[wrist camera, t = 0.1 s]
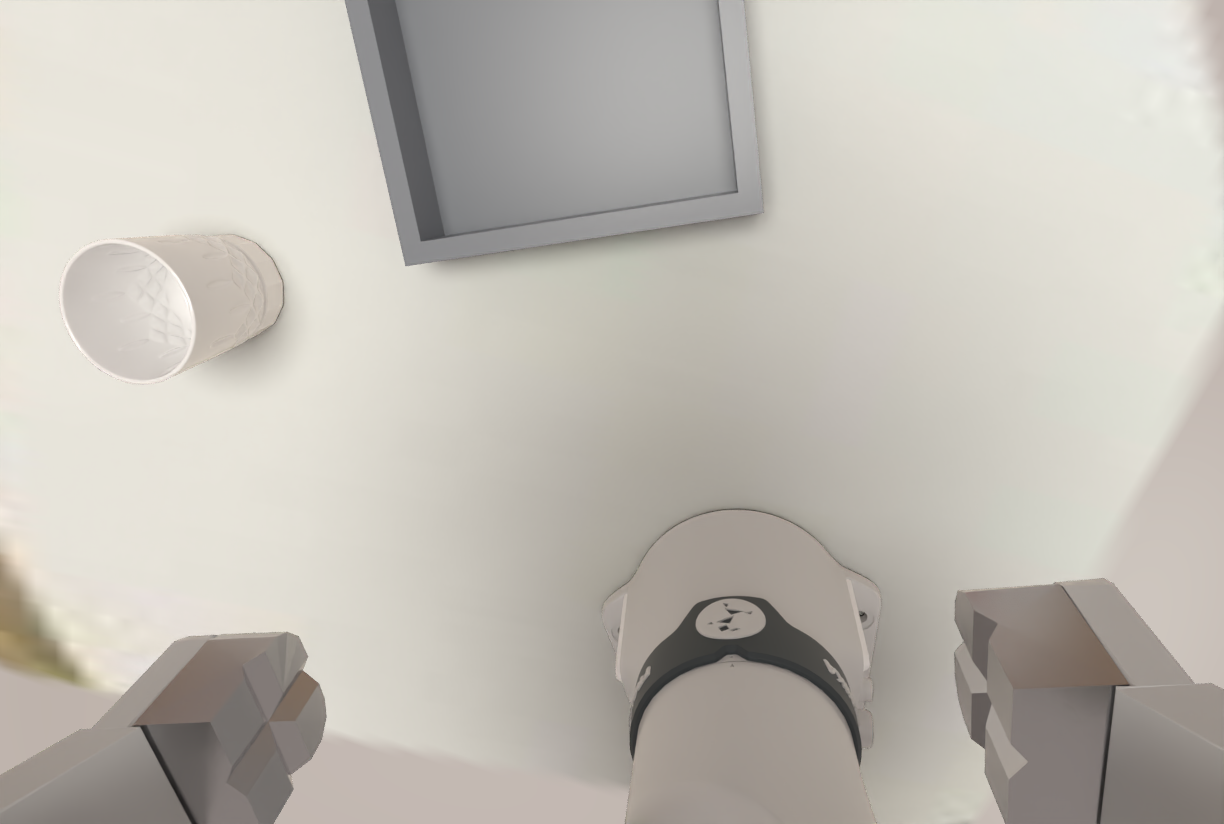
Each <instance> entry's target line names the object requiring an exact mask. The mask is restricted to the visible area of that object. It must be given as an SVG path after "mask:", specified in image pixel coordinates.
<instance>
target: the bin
mask: <svg viewBox="0 0 1224 824" xmlns="http://www.w3.org/2000/svg"><path fill="white" fill-rule="evenodd" d="M345 4H346V8H347V13H348V17H349V21H350V26H351V30H352V34H353V39H354V43H355V47H356V52H357V56H358V61H359V65H360V69H361V74H362V78H363V82H364V87H365V91H366V96H367V100H368V104H369V109H370V113H371V117H372V122H373V126H374V130H375V135H376V139H377V144H378V148H379V152H380V157H381V161H382V165H383V170H384V174H385V178H386V183H387V187H388V192H389V196H390V200H391V205H392V209H393V213H394V218H395V222H396V226H397V231H398V235H399V240H400V244H401V248H402V253H403V257H404V261H405V266H410V265H417V264H424V263H431V262H437V261H444V260H451V259H457V258H464V257H471V256H478V255H484V254H491V253H498V252H505V251H511V250H518V249H525V248H531V247H538V246H545V245H552V244H558V243H565V242H572V241H579V240H585V239H592V238H599V237H605V236H612V235H619V234H626V233H632V232H639V231H646V230H653V229H659V228H666V227H673V226H679V225H686V224H693V223H700V222H706V221H713V220H720V219H727V218H733V217H740V216H747V215H753V214H760V213H764V209H763V198H762V187H761V177H760V166H759V155H758V145H757V134H756V123H755V113H754V102H753V91H752V81H751V70H750V59H749V49H748V38H747V27H746V17H745V6H744V0H345Z"/></svg>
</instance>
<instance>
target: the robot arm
mask: <svg viewBox="0 0 1224 824" xmlns="http://www.w3.org/2000/svg"><path fill="white" fill-rule="evenodd" d="M860 611H861V612H865V614H864V615H863V616H861V617H860V616H859V612H860ZM880 611H881V596H880V591H879V589H878V587H877V586H876V585H875V584H874V583H873V582H871V581H870V580H868V579H867V578H865V577H863V576H861V575H859V574H857V573H855V572H853V571H851V570H849V569H846V568H844V567H842V566H841V565H840V564H839V563H837V562H836V561H835V560H834V559H833V558H832V556H831V555H830V554H829V553H828V552H827V551H826V550H825V548H824V547H823V546H822V545H821V544H820V543H819V542H818V541H817V540H816V539H815V538H813V537H812V536H811V535H810V534H808V533H807V532H806V531H804V530H803V529H801V528H800V527H798V526H796V525H795V524H793V523H791V522H789V521H786V520H784V519H782V518H779V517H776V516H773V515H770V514H766V513H762V512H757V511H750V510H722V511H715V512H710V513H706V514H702V515H699V516H696V517H693V518H691V519H688V520H686V521H684V522H682V523H680V524H679V525H677V526H675V527H674V528H672V529H671V530H669V531H668V532H666V533H665V534H664V535H663V536H662V537H661V538H659V539H658V540H657V541H656V542H655V544H654V545H653V546H652V547H651V548H650V550H649V551H648V552H647V554H646V555H645V557H644V558H643V560H642V562H641V564H640V566H639V568H638V569H637V571H636V573H635V575H634V576H633V578H632V579H631V580H630V581H629V582H628V583H627V584H625V585H624V586H622V587H621V588H620V589H618V590H617V591H616V592H614V593H613V594H612V595H611V596H610V597H609V598H608V599H607V600H606V601H605V602H604V604H603V607H602V621H603V624H604V627H605V629H606V632H607V634H608V637H609V639H610V641H611V644H612V646H613V649H614V651H615V654H616V656H617V657H616V666H615V674H616V679H617V680H618V681H620V682H622V684H623V687H624V690H625V693H626V695H627V697H628V699H629V701H630V703H631V709H630V717H629V727H630V730H629V732H630V750H631V755H632V759H633V768H632V775H631V782H630V789H629V797H628V804H627V812H626V819H625V824H877V822H876V819H875V817H874V814H873V810H872V807H871V804H870V801H869V798H868V795H867V792H866V789H865V785H864V782H863V778H862V774H861V771H860V762H861V750H862V748H867V749H868V748H869V747H870V748H871V747H872V743H873V720H872V715H871V712H870V711H867V710H864V703H865V702H871V701H872V698H873V684H872V680H871V679H870V678H869V674H870V669H871V663H872V657H873V651H874V646H875V640H876V634H877V628H878V622H879V617H880ZM955 622H956V624H957V627H958V629H959V631H960V634H961V636H962V638H963V640H964V642H963V643H962V644H961V645H960V646H959V647H958V648H957V650H956V651H955V652H954V657H955V679H956V686H957V693H958V700H959V704H960V707H961V711H962V714H963V718H964V721H965V724H966V726H967V729H968V731H969V734H970V737H971V739H972V740H974V741H975V742H976V743H978V744H979V745H980V746H982V747H983V748H984V749H985V775H986V777H987V780H988V782H989V785H990V787H991V790H992V792H993V794H994V797H995V799H996V802H997V804H998V807H999V809H1000V812H1001V814H1002V816H1003V819H1004V822H1005V824H1224V689H1222V688H1220V687H1218V686H1216V685H1214V684H1212V683H1205V684H1195V683H1194V682H1193V681H1192V679H1191V678H1190V677H1189V676H1188V675H1187V673H1186V672H1185V671H1184V670H1183V668H1182V667H1181V666H1180V665H1179V663H1178V662H1177V661H1176V660H1175V659H1174V657H1173V656H1172V655H1171V654H1170V652H1169V651H1168V650H1167V649H1166V648H1165V646H1164V645H1163V644H1162V643H1161V641H1160V640H1159V639H1158V638H1157V636H1156V635H1155V634H1154V633H1153V632H1152V630H1151V629H1150V628H1149V627H1148V625H1147V624H1146V623H1145V622H1144V620H1143V619H1142V618H1141V617H1140V616H1139V614H1138V613H1137V612H1136V611H1135V609H1134V608H1133V607H1132V606H1131V605H1130V603H1129V602H1128V601H1127V600H1126V598H1125V597H1124V596H1123V595H1122V594H1121V592H1120V591H1119V590H1118V588H1117V587H1116V586H1115V585H1114V584H1113V583H1112V582H1110V581H1108V580H1106V579H1104V578H1100V579H1089V580H1077V581H1066V582H1055V583H1054V584H1048V585H1033V586H1018V587H1003V588H988V589H973V590H958V591H957V596H956V600H955ZM307 658H308V655H307V653H306V651H305V649H304V647H303V644H302V642H301V640H300V638H299V636H296V635H294V634H291V633H289V632H270V633H244V634H221V635H204V636H188V637H185V638H182V639H180V640H177V641H174V642H173V643H172V645H171V646H170V647H169V648H168V649H167V650H166V651H165V652H164V653H163V654H162V655H161V656H160V657H159V658H158V659H157V660H156V661H155V662H154V663H153V664H152V665H151V667H150V668H149V669H148V670H147V671H146V672H145V673H144V674H143V675H142V676H141V677H140V678H139V679H138V680H137V681H136V682H135V683H134V684H133V685H132V686H131V687H130V689H129V690H128V691H127V692H126V693H125V694H124V695H123V696H122V697H121V698H120V699H119V700H118V701H117V702H116V703H115V704H114V706H112V708H110V710H109V711H108V712H107V713H106V714H105V715H104V716H103V717H102V718H101V719H100V720H99V721H98V722H97V723H96V724H95V725H94V726H93V727H92V728H91V729H80V730H78V731H76V732H75V733H73V734H71V735H69V736H68V737H66V738H64V739H62V740H61V741H59V742H57V743H55V744H54V745H52V746H50V747H48V748H47V749H45V750H43V751H41V752H40V753H38V754H36V755H35V756H33V757H31V758H30V759H28V760H26V761H24V762H23V763H21V764H19V765H17V766H15V767H14V768H12V769H10V770H8V771H7V772H5V773H3V774H1V775H0V824H274V822H275V820H276V818H277V817H278V815H279V814H280V812H281V810H282V808H283V807H284V805H285V803H286V802H287V800H288V798H289V796H290V795H291V793H292V791H293V789H294V788H293V783H292V776H291V774H292V773H294V772H295V771H296V770H298V769H299V768H300V767H302V766H303V765H304V764H305V763H307V762H308V761H309V760H311V759H312V757H313V755H314V753H315V751H316V749H317V748H318V746H319V744H320V742H321V740H322V736H323V731H324V726H325V722H326V717H327V716H326V707H325V698H324V696H323V693H322V690H321V688H320V685H319V683H318V682H316V681H315V680H314V679H313V678H311V677H310V676H309V675H308V674H307V673H305V672H304V671H303V668H304V666H305V663H306V661H307Z"/></svg>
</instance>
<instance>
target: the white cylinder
mask: <svg viewBox="0 0 1224 824" xmlns="http://www.w3.org/2000/svg"><path fill="white" fill-rule="evenodd" d="M59 305H60V311H61V315H62V319H63V322H64V325H65V327H66V329H67V332H68V334H69V336H70V337H71V339H72V341H73V342H74V344H75V345H76V347H77V348H78V349H79V351H80V352H81V353H82V354H83V355H84V356H85V358H86V359H87V360H89V361H90V362H91V363H92V364H93V365H94V366H95V367H97V368H98V369H99V370H101V371H102V372H104V373H106V374H107V375H109V376H111V377H113V378H115V379H118V380H121V381H124V382H127V383H132V384H154V383H159V382H162V381H164V380H167V379H169V378H171V377H173V376H175V375H177V374H180V373H182V372H184V371H186V370H188V369H190V368H193V367H195V366H197V365H199V364H201V363H203V362H206V361H208V360H210V359H212V358H214V357H217V356H219V355H221V354H223V353H225V352H227V351H228V350H230V349H232V348H234V347H236V346H238V345H240V344H242V343H244V342H245V341H246V340H248V339H250V338H253V337H255V336H257V335H259V334H260V333H262V332H263V331H264V330H266V329H267V328H269V327H270V326H272V325H273V324H274V323H275V321H276V319H277V317H278V315H279V313H280V310H281V308H282V306H283V281H282V279H281V277H280V275H279V272H278V270H277V268H276V266H275V264H274V262H273V260H272V259H271V258H270V257H269V256H268V255H267V254H266V253H265V252H264V251H263V250H262V249H261V248H260V247H259V246H258V245H257V244H256V243H255V242H252V241H249V240H247V239H244V238H241V237H239V236H236V235H233V234H228V235H215V236H204V235H197V234H195V235H166V236H149V237H134V238H116V239H103V240H98V241H94V242H91V243H89V244H87V245H85V246H83V247H82V248H80V249H79V250H78V251H77V252H76V253H75V254H74V255H73V256H72V257H71V258H70V259H69V261H68V262H67V264H66V266H65V268H64V270H63V273H62V276H61V279H60V285H59Z"/></svg>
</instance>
